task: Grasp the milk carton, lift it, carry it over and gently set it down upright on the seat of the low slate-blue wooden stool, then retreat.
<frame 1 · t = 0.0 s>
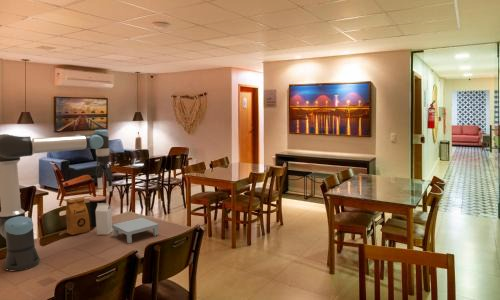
hand: (105, 189, 223), 28 cm above the table, fingers open, 13 cm apart
stool: (135, 235, 223), on the table
milk carton: (104, 233, 228), on the table
coffee jar: (99, 224, 247), on the table
coffee package: (78, 232, 230), on the table
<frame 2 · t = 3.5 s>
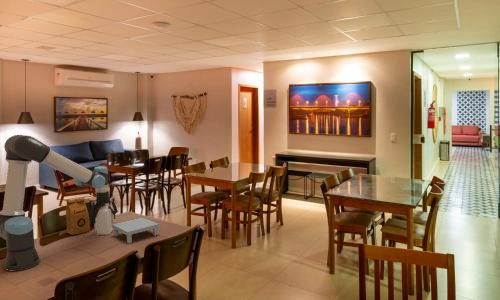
hand: (104, 226, 228), 4 cm above the table, fingers closed on milk carton, 10 cm apart
milk carton: (104, 233, 228), on the table, touching gripper
everything else where it was.
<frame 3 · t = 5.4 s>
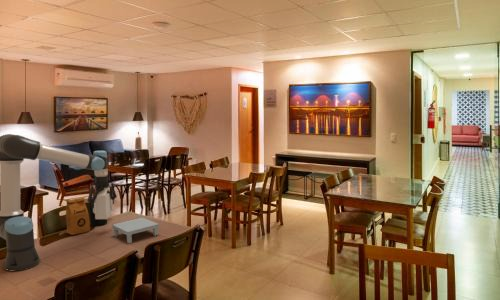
hand: (103, 211, 227), 14 cm above the table, fingers closed on milk carton, 10 cm apart
milk carton: (103, 218, 227), point 10 cm above the table, touching gripper
everything else where it was.
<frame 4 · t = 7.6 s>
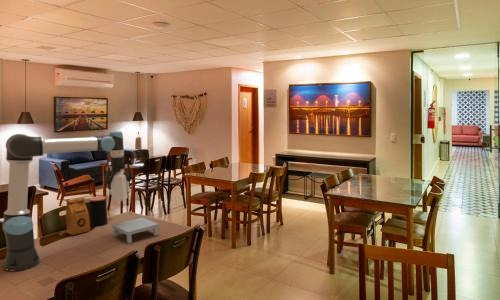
hand: (119, 192, 222), 26 cm above the table, fingers closed on milk carton, 10 cm apart
milk carton: (120, 200, 223), point 22 cm above the table, touching gripper
everything else where it was.
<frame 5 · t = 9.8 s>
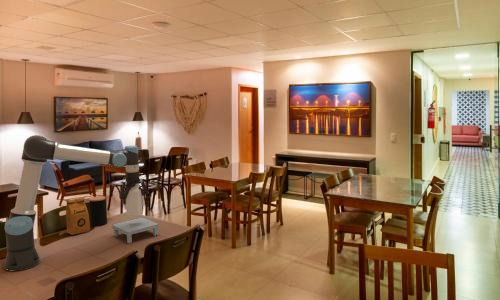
hand: (134, 207, 221), 17 cm above the table, fingers closed on milk carton, 10 cm apart
milk carton: (135, 214, 221), point 13 cm above the table, touching gripper
everything else where it was.
when the fingers open (13 cm above the table, at t = 11.7 s): milk carton drops 1 cm, resting on stool.
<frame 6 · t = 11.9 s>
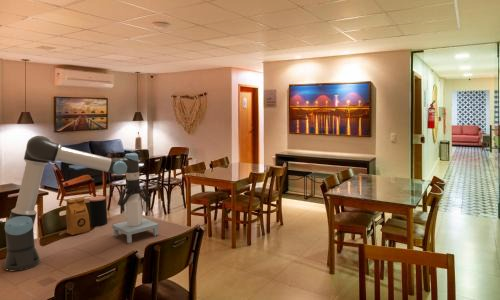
hand: (134, 213, 221), 14 cm above the table, fingers open, 12 cm apart
milk carton: (134, 224, 222), point 7 cm above the table, touching stool
everything else where it was.
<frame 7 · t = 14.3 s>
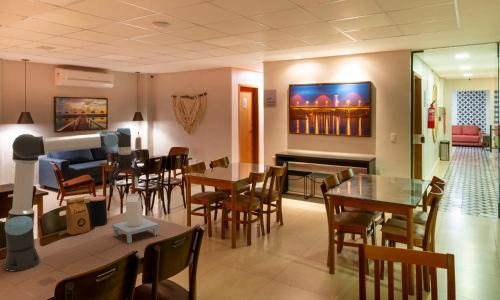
hand: (126, 189, 217), 29 cm above the table, fingers open, 13 cm apart
nothing on the table moved.
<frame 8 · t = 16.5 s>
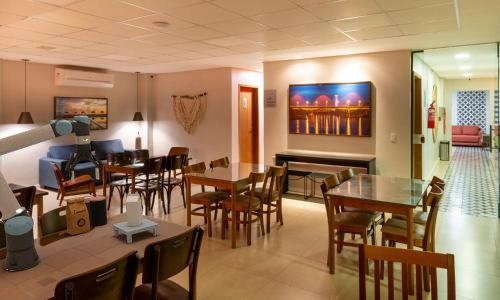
hand: (85, 180, 206), 37 cm above the table, fingers open, 13 cm apart
nothing on the table moved.
at the end: milk carton inside the target area on the stool (0.3 cm from its centre), point 6.8 cm above the stool's base; milk carton tilted 0°; the gripper is holding nothing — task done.
